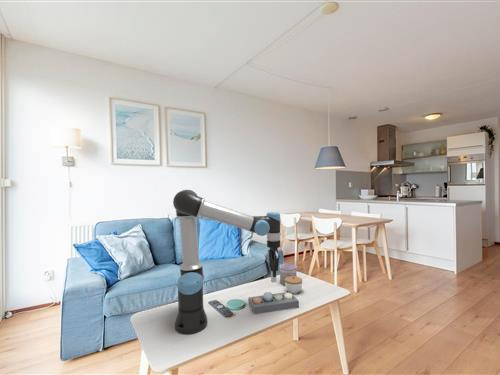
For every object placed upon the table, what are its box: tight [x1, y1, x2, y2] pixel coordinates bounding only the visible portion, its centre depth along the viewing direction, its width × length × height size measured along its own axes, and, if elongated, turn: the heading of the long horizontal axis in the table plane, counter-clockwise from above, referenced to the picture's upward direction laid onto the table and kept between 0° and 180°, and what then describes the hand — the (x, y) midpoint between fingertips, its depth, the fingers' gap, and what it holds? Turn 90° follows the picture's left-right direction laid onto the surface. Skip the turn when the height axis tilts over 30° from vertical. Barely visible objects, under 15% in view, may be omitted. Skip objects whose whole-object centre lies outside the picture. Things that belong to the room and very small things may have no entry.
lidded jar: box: [284, 275, 303, 295], centre depth 157 cm, size 11×11×9 cm
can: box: [279, 262, 298, 287], centre depth 170 cm, size 11×11×12 cm
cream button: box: [284, 293, 292, 299], centre depth 142 cm, size 4×4×4 cm
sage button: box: [274, 293, 282, 301], centre depth 140 cm, size 4×4×4 cm
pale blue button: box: [263, 291, 273, 302], centre depth 139 cm, size 4×4×4 cm
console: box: [248, 291, 300, 315], centre depth 140 cm, size 25×12×4 cm, turn 104°
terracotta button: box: [253, 296, 261, 304], centre depth 137 cm, size 4×4×4 cm
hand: (273, 281), depth 142 cm, fingers closed
